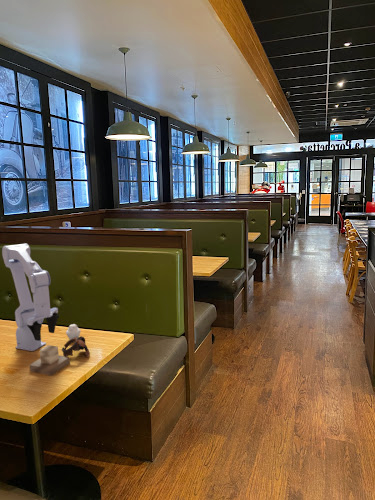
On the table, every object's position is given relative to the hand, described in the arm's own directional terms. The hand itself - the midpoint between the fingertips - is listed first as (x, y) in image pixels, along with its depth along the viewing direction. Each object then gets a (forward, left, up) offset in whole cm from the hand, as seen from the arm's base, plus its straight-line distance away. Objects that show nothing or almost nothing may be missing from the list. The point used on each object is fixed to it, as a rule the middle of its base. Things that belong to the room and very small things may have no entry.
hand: (44, 336), depth 146 cm
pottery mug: (+10, +7, -10) cm, 15 cm away
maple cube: (+6, -5, -7) cm, 10 cm away
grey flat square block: (+6, -5, -10) cm, 13 cm away
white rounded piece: (-2, +19, -10) cm, 21 cm away
